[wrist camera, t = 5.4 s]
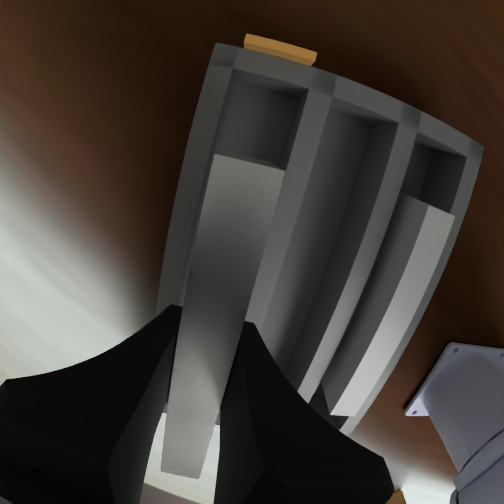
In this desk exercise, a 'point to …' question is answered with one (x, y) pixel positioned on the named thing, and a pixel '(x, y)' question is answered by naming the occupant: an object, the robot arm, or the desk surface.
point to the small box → (397, 498)
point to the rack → (328, 216)
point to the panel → (217, 301)
